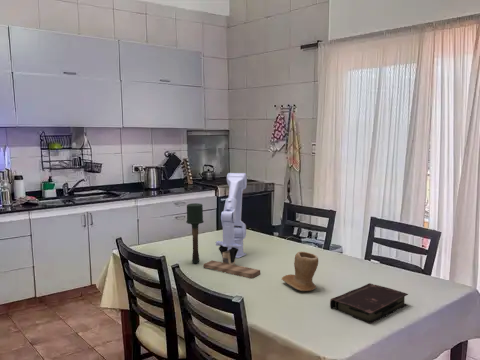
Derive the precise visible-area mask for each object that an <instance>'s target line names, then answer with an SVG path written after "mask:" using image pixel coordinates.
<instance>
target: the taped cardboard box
mask: <svg viewBox="0 0 480 360" xmlns="http://www.w3.org/2000/svg"><path fill="white" fill-rule="evenodd" d="M222 262H223V263H228V264H233V265H236V260H235V261H234V262H233V263H231V256H230V251H229V250H227V251H225V252H223V258H222Z"/></svg>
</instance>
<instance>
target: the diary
mask: <svg viewBox="0 0 480 360" xmlns="http://www.w3.org/2000/svg"><path fill="white" fill-rule="evenodd" d="M408 295H409V293H406V292H402V291H400V290H396V289H393V288H390V287H385V286H383V285H378V284H373V283H371V282H370V283H367V284H365V285H362V286H361V287H357V288H355V289H352V290H350V291H347V292H345V293H343V294H341V295H338V296H335V297H332V298H330V301H329V308H330V309H331V310H332V309H335V311H337V310H338V311H339V312H342V313H344V314H347V315H349V316H352V318H353V319H356V320H359V321H361V322H364V323H366V324H374V323H375V322H378V321H379V320H382V319H384V318H386V317H387V316H389V315H391V314H394V313H395V312H396V311H398V310H401V309H403V308H405V307H407V306H408V304H406V303H405V300H406V299H405V297H406V296H408Z"/></svg>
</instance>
